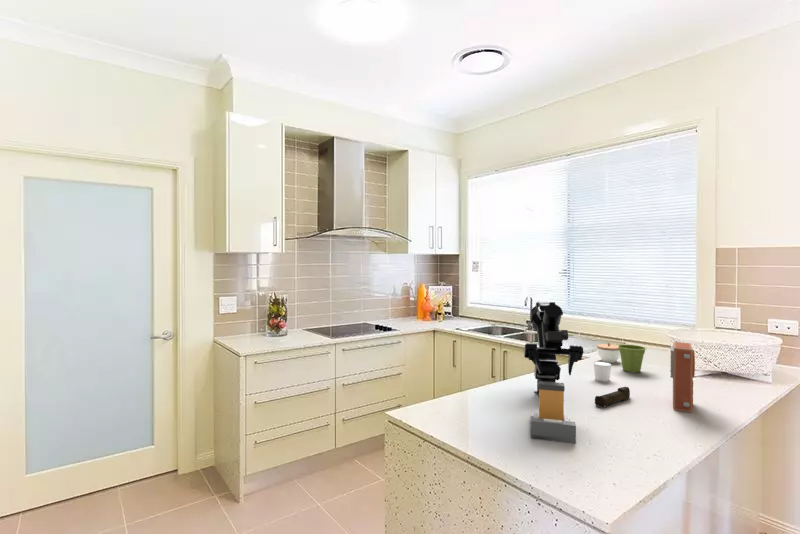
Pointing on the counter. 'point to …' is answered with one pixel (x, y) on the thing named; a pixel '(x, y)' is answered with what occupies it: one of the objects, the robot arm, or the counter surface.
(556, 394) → the handle
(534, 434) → the base
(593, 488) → the counter surface
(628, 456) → the counter surface
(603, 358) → the lidded jar
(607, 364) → the white cup
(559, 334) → the robot arm
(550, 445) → the counter surface
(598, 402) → the hand tool
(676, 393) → the brown case
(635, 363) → the plant pot
